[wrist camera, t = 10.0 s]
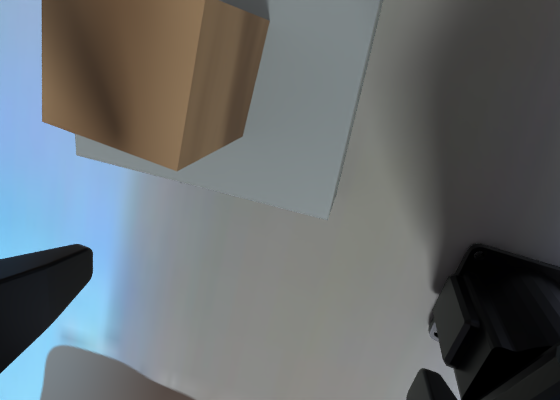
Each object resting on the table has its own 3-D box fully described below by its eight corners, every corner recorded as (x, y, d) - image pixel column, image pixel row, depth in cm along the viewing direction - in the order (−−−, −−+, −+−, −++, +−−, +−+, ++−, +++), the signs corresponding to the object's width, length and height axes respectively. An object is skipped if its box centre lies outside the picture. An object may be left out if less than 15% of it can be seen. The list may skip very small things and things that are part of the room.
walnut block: (270, 20, 15) (206, -5, 9) (242, 136, 17) (177, 171, 11) (161, -12, 15) (41, -54, 10) (147, 103, 17) (42, 121, 12)
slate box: (396, -54, 16) (401, -88, 12) (336, 192, 21) (327, 220, 17) (121, -86, 18) (58, -123, 15) (124, 141, 23) (76, 155, 19)
